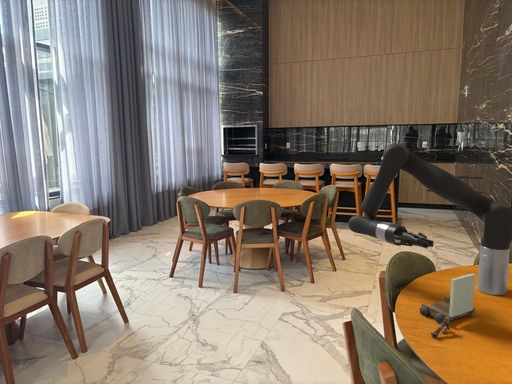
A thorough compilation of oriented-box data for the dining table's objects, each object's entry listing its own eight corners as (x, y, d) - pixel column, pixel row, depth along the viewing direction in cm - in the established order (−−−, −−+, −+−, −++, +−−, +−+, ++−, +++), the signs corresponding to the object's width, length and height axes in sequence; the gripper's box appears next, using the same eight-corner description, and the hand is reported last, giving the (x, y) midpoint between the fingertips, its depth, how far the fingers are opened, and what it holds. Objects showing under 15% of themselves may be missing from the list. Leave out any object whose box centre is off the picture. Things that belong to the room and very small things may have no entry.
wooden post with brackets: (453, 328, 115) (450, 317, 113) (439, 345, 111) (436, 334, 110) (447, 325, 116) (445, 314, 115) (433, 343, 113) (430, 331, 111)
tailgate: (469, 308, 122) (472, 273, 121) (472, 310, 122) (475, 274, 120) (449, 315, 118) (451, 279, 116) (451, 317, 117) (454, 280, 115)
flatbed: (447, 304, 132) (447, 296, 132) (476, 317, 123) (476, 308, 122) (418, 313, 126) (419, 305, 125) (447, 327, 117) (447, 318, 116)
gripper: (377, 225, 140) (416, 236, 124) (404, 221, 146) (444, 231, 130) (377, 245, 141) (415, 258, 125) (403, 240, 147) (443, 252, 132)
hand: (430, 244), depth 128 cm, fingers closed
